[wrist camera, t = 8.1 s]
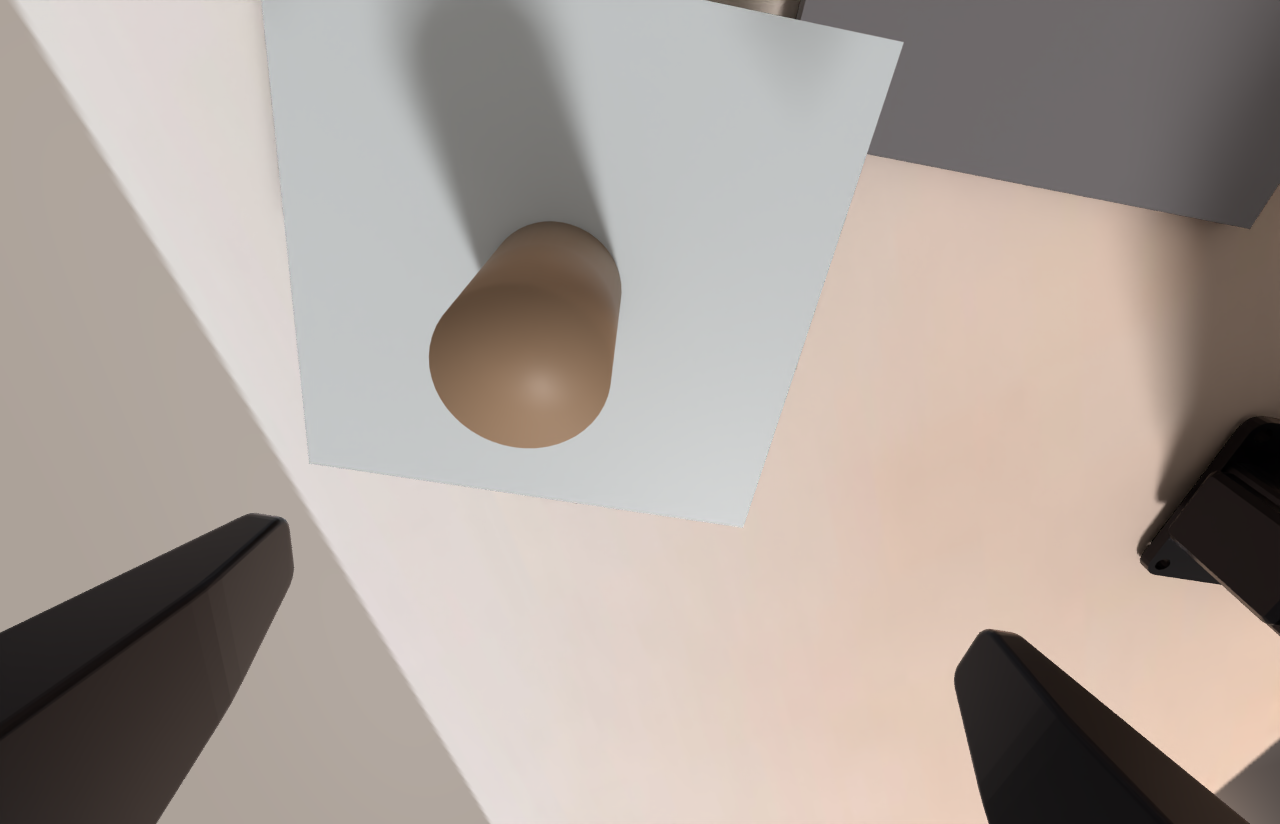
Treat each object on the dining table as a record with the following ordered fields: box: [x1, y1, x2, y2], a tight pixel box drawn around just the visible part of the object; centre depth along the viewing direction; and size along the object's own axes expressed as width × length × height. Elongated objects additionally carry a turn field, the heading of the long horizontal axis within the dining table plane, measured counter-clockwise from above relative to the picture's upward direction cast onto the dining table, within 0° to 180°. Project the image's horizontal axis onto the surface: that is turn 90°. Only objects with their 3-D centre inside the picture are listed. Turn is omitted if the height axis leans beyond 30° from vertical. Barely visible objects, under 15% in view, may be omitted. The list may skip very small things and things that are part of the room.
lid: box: [261, 0, 904, 528], centre depth 12 cm, size 11×11×5 cm
